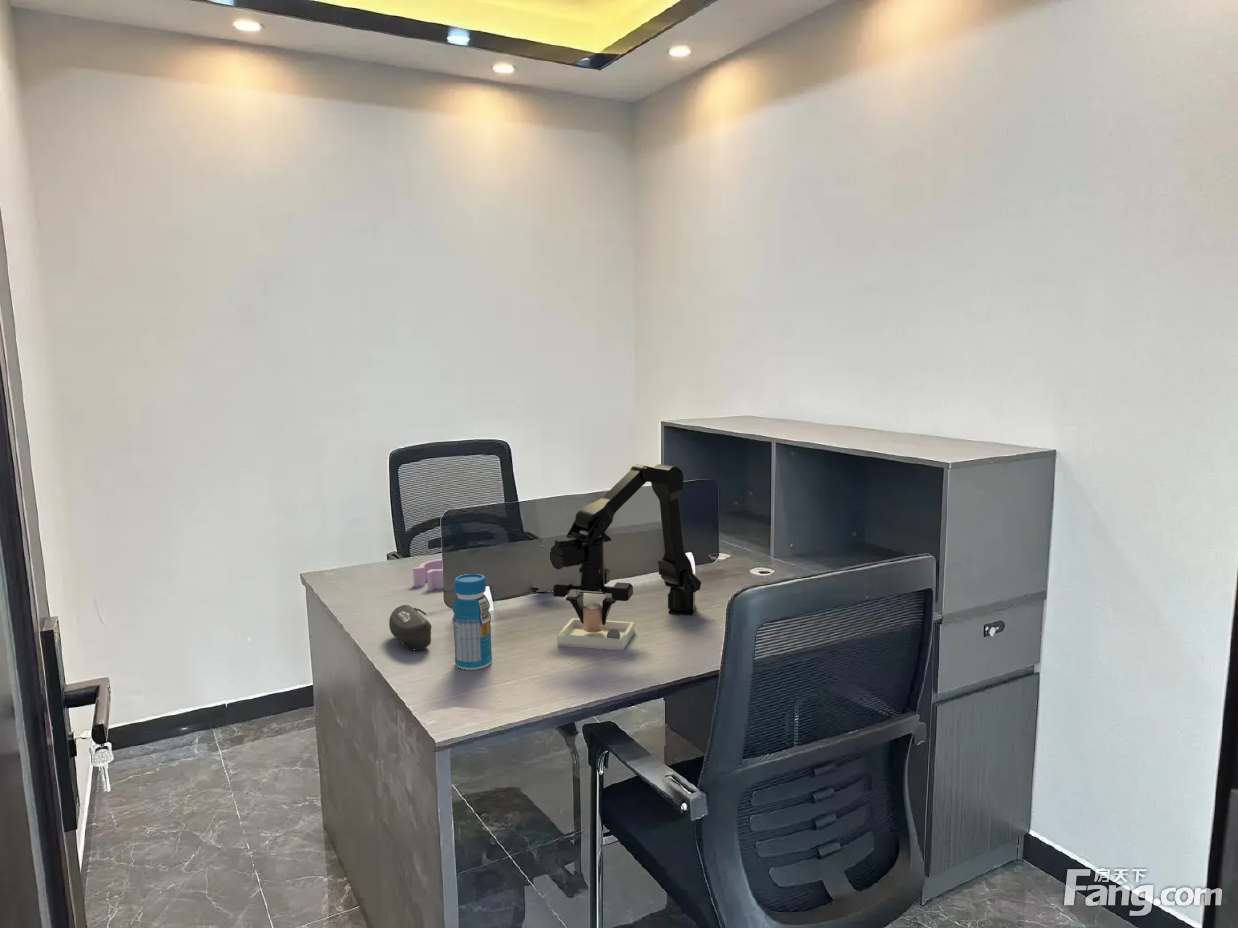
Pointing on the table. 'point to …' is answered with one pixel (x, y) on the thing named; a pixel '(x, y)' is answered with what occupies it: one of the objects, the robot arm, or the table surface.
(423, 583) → the clip
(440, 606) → the table surface
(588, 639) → the tray
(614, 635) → the ball
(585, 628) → the cylinder
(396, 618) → the glasses case
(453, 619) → the beverage bottle
